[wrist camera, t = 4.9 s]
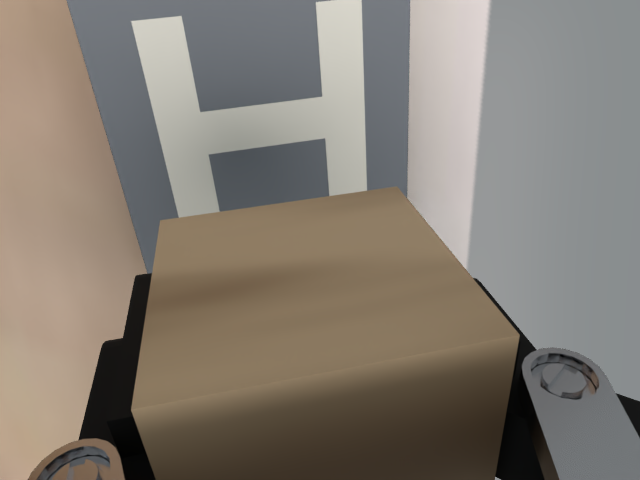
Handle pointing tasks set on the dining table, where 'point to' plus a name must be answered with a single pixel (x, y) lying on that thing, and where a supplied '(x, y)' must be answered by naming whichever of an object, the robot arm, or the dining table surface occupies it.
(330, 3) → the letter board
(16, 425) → the dining table surface
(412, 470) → the oak block
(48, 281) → the dining table surface
